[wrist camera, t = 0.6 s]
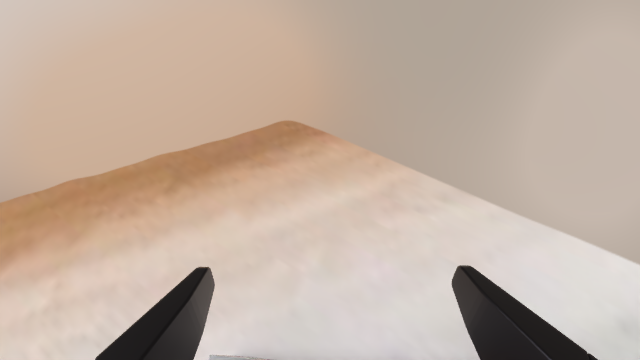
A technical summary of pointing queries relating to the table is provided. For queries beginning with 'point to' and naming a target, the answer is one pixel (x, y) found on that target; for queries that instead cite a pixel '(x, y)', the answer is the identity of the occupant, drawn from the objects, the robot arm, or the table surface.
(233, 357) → the open tray box
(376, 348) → the table surface
